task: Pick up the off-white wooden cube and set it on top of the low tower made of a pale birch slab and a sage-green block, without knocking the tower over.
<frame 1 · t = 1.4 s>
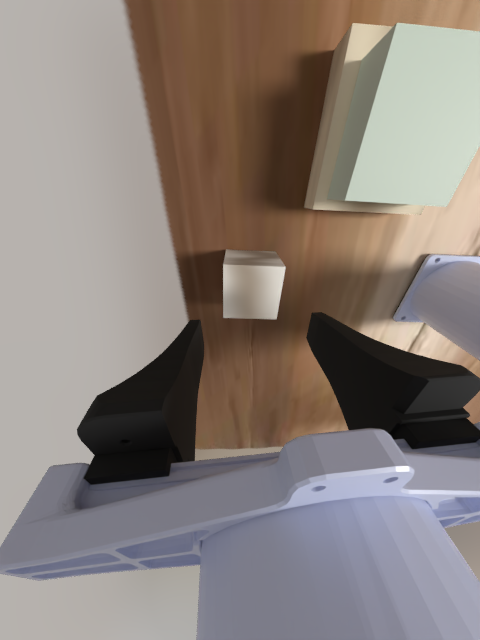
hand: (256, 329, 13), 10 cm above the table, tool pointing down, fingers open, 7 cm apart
sage block: (391, 143, 14), point 2 cm above the table, touching birch slab
ivory cube: (249, 274, 21), on the table
birch slab: (368, 146, 16), on the table, touching sage block
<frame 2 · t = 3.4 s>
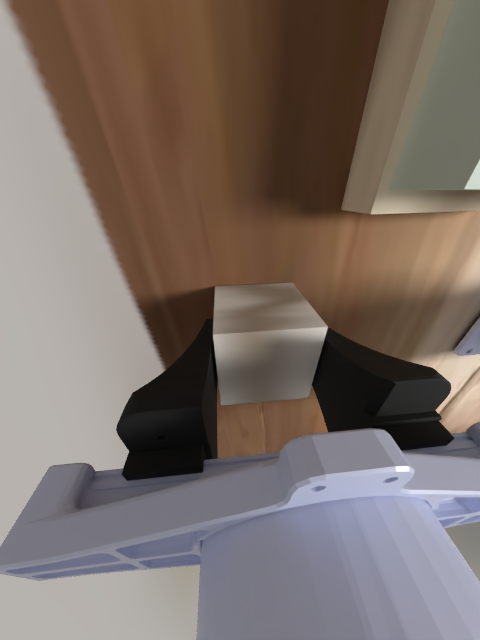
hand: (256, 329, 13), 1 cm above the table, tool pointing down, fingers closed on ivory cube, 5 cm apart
ivory cube: (253, 317, 14), on the table, touching gripper
birch slab: (456, 92, 9), on the table, touching sage block
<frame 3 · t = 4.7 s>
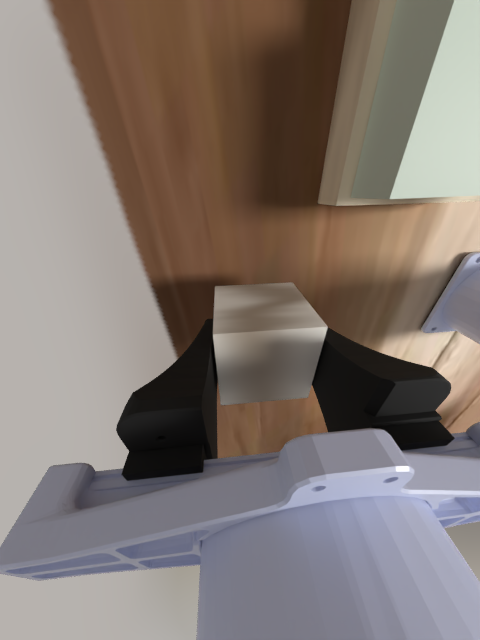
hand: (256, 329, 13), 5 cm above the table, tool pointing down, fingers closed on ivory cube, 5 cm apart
sage block: (441, 108, 9), point 3 cm above the table
ivory cube: (253, 317, 14), point 3 cm above the table, touching gripper
birch slab: (403, 111, 12), on the table
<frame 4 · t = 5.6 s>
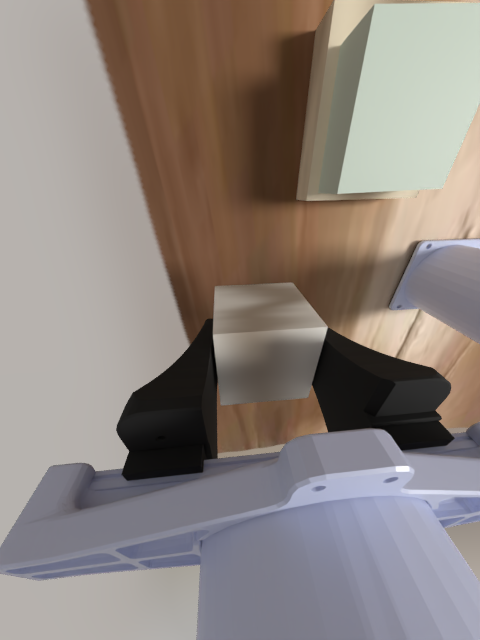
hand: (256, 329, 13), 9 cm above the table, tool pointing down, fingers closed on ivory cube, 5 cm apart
sage block: (378, 128, 13), point 2 cm above the table, touching birch slab
ivory cube: (253, 317, 14), point 8 cm above the table, touching gripper
birch slab: (357, 130, 15), on the table, touching sage block
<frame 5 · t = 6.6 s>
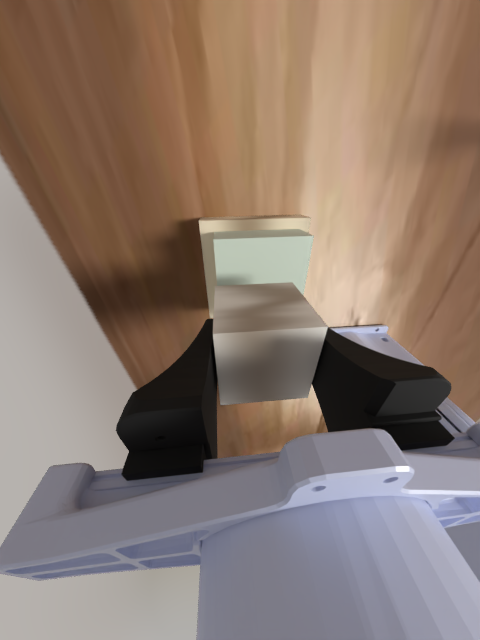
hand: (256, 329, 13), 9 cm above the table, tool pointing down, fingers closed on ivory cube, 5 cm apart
sage block: (256, 271, 18), point 2 cm above the table
ivory cube: (253, 317, 14), point 8 cm above the table, touching gripper
birch slab: (250, 263, 21), on the table
when the fingers open (8 cm above the table, at t = 8.0 s): ivory cube drops 2 cm, resting on sage block.
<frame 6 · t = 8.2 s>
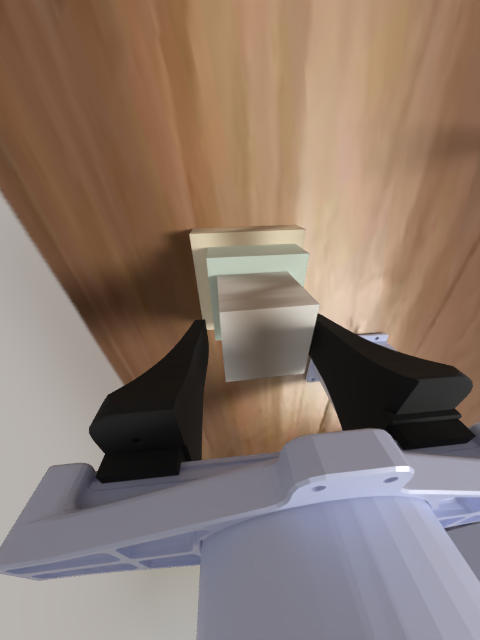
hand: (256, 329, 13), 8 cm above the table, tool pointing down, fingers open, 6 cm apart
sage block: (251, 286, 18), point 2 cm above the table, touching birch slab, ivory cube
ivory cube: (252, 304, 15), point 5 cm above the table, touching sage block
birch slab: (244, 274, 20), on the table, touching sage block
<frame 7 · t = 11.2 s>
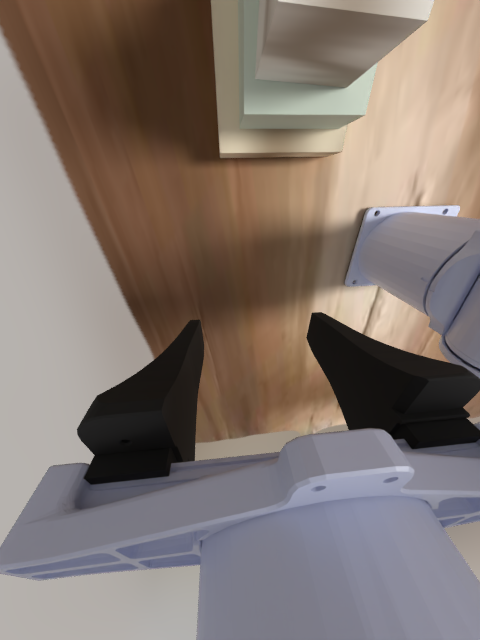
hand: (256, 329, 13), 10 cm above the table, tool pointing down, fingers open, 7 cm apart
sage block: (297, 47, 12), point 2 cm above the table, touching birch slab
ivory cube: (313, 2, 9), point 5 cm above the table
birch slab: (277, 78, 14), on the table, touching sage block
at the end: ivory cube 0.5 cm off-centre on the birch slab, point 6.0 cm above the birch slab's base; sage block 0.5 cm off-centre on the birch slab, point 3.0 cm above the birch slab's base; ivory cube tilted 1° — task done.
